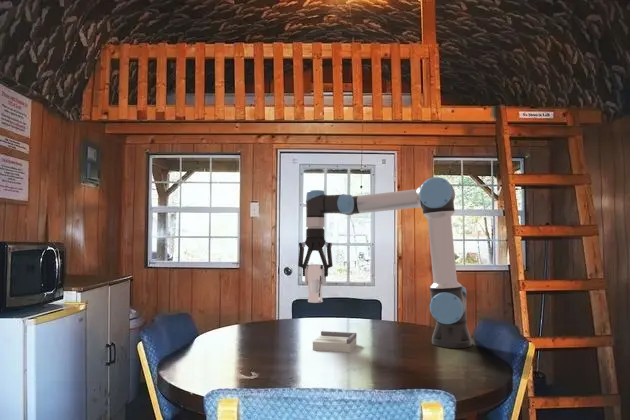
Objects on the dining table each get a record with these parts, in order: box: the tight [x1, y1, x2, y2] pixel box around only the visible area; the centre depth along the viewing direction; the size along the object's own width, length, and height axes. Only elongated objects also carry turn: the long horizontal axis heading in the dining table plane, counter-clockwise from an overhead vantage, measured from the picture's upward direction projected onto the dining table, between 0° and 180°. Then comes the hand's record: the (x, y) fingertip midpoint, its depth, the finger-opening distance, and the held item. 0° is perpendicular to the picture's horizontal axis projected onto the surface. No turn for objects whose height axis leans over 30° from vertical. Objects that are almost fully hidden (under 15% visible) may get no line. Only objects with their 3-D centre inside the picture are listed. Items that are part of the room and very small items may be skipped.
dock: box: [312, 330, 357, 353], centre depth 197 cm, size 14×14×4 cm
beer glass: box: [307, 264, 324, 304], centre depth 211 cm, size 7×7×15 cm
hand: (315, 284), depth 211 cm, fingers closed on beer glass, 7 cm apart
